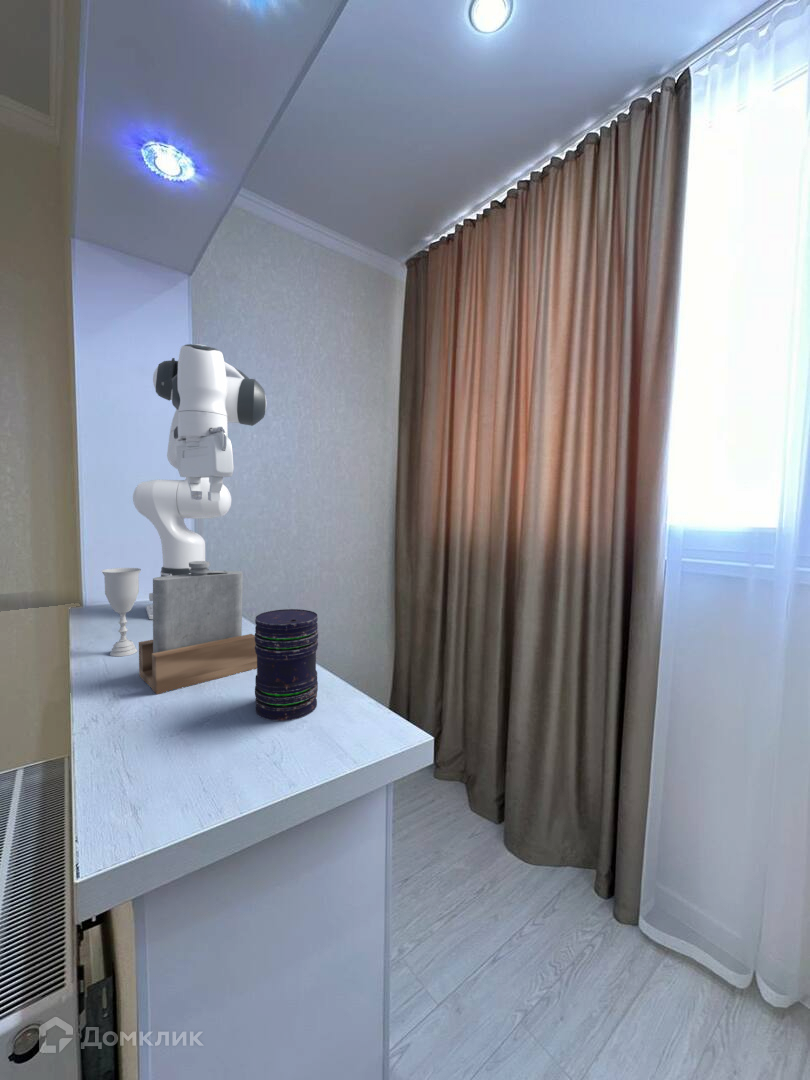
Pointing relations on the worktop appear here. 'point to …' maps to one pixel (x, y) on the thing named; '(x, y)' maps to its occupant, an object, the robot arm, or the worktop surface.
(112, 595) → the chalice
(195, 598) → the hip flask
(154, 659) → the u rest
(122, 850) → the worktop surface
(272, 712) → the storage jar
